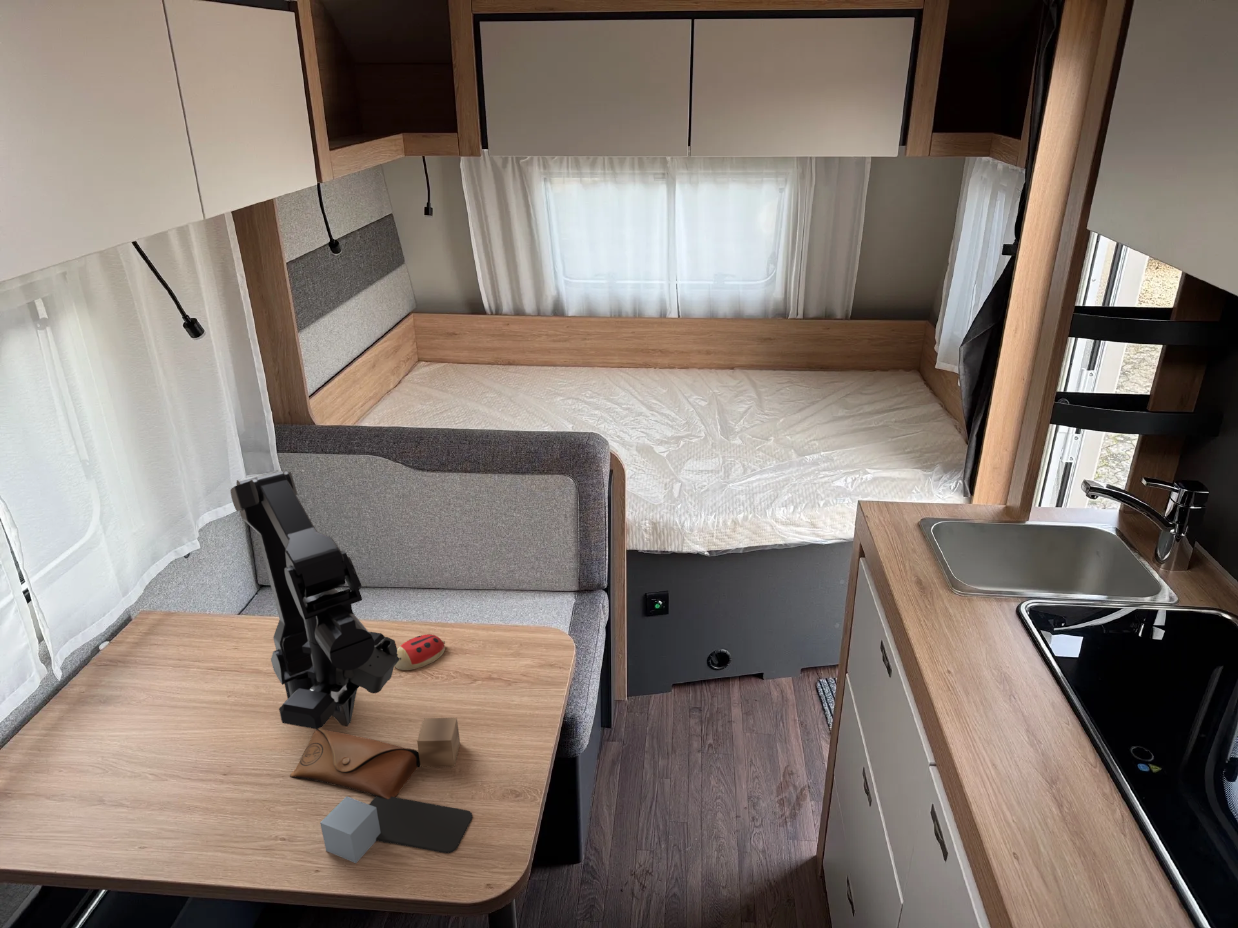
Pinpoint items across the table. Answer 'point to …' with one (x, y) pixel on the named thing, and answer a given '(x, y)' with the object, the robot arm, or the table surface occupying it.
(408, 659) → the ladybug figurine
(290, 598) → the robot arm
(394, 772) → the sunglasses case
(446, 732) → the walnut block
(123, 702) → the table surface
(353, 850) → the slate block
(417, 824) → the phone
